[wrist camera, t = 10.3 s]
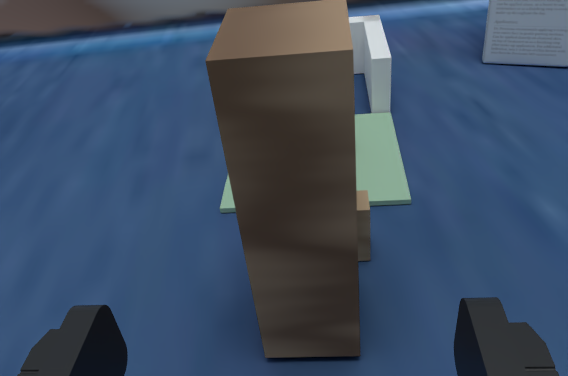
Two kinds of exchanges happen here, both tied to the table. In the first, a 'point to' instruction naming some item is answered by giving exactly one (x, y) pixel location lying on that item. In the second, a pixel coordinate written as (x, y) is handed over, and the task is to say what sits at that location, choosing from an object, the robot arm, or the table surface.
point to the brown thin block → (293, 169)
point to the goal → (372, 60)
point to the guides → (363, 225)
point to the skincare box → (527, 32)
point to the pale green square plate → (368, 163)
